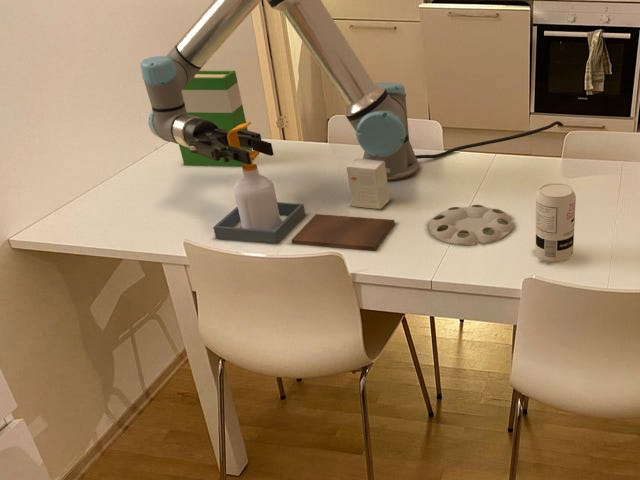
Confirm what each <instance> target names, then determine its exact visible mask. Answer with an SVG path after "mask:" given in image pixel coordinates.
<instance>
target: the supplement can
mask: <svg viewBox="0 0 640 480" xmlns="http://www.w3.org/2000/svg"><path fill="white" fill-rule="evenodd" d="M576 197H577V196H576V193H575V192H574V188H573V187H572V186H570V185H568V184H566V183H559V182H555V183H554V182H553V183H547V184H544V185H541V186H540V188H539V190H538V192H537V194H536V195H535V245H534V247H535V250H534V254H535V255H536V257H538V258H539V259H540V260H541V261H544V262H546V263H562V262H565V261H567V260H569V259H570V258H571V257H573V255H574V241H575V239H574V238H575V222H576V201H577V198H576Z"/></svg>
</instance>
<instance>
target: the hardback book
mask: <svg viewBox="0 0 640 480" xmlns="http://www.w3.org/2000/svg"><path fill="white" fill-rule="evenodd" d="M181 91H182V95H183V99H184V103H185V107H186V112H187V114H188V115H192V116H195V117H199V118H202V119H205V120H209V121H211V122H213V123H214V124H215V125H216V126H217V127H218V128H219V129H225V130H227V131H231V130H232V129H233V127H234V126H238V125H241V124H244V123H247V119H246V115H245V109H244V105H243V102H242V101H243V100H242V96H241V90H240V86H239V82H238V77H237V72H236V70H199V72H198V73H197V74H196V75H195V77H194V78H193V79H192V80H191V81H190V82H189V83H188V84H187V85H186V86H185V87H184V88H183V89H182V90H181ZM244 130H248V126H247V127H246V128H244ZM248 131H249V130H248ZM178 146H179V151H180V154H181V157H182V161H183V165H184V166H202V167H203V166H205V167H208V166H209V167H243V166H244V165H245V163H242V162H239V161H236V160H232V159H229V162H224V159H223V158H220V160H219V161H215V160H212V159H210V158H207V157H204V156H202V155H199V154H193V153H191V152H190V148H188V147H185V146H182V145H179V144H178ZM226 148H227V149H228V147H226ZM241 149H242V150H245V151H253V149H252V148H248V147H241Z"/></svg>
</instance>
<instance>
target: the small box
mask: <svg viewBox="0 0 640 480" xmlns="http://www.w3.org/2000/svg"><path fill="white" fill-rule="evenodd" d="M345 167H346V175H347V181H348V188H349V193H350V199H351V206H352V207H357V208H365V209H376V210H381V209H382V208H384V207H385V206H386V204H387V203H389V202H390V199H391V198H390V193H389V191H390V190H389V185H388V181H387V175H386V167H385V161H379V160H368V159H363V158H355V159H354V160H353V161H351V162H350V163H349V164H348V165H346V166H345Z"/></svg>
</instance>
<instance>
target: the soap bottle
mask: <svg viewBox="0 0 640 480" xmlns="http://www.w3.org/2000/svg"><path fill="white" fill-rule="evenodd" d="M251 124H252V122H251V121H248V122H247V121H246V123H244V124H241V125H238V126H237V127H235V128H234V129H232V130H231V131H229V132H228V134H227V139H228V143H229V146H232V147H236V148H239V149H241V147H240V143H239V138H238V133H237V131H238V130H241V129H244V128H246V127H247V128H248V127H249V126H250V125H251ZM248 152H249V156H250V160H251V164H249V165H248V164H245V165H244V166H241V169H242V173H243V177H241V178H240V179H238V181H236V183H235V184H234V186H233V193H234V197H235V202H236V207H237V206H238V211H239V216H240V224H241V228H249V229H261V230H273V231H274V230H275V229H276V228H277V227H278V226H279V225H280V224H281V223H282V221H281V215H279V210H278V204H277V202H278V199H277V194H276V188H275V185H274V183H273V181H272V180H271V179H269V178H268V177H266V176H265V175H262V174H260V172H259V168H258V165H257V164H256V163H253V162H254V161H255V158H256V157H258V156H259V155H260V152H258V151H253V150H252V151H248Z"/></svg>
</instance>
